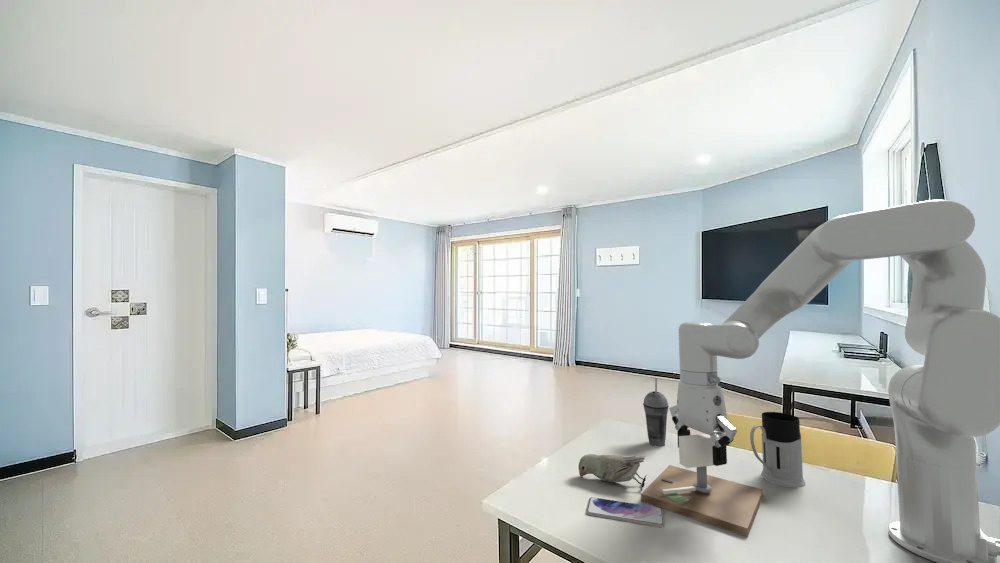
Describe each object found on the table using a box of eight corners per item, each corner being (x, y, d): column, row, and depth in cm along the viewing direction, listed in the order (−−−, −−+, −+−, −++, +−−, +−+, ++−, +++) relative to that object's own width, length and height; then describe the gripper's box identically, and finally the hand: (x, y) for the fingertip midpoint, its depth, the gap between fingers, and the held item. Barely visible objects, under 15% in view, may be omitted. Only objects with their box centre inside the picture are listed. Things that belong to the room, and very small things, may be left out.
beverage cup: (665, 439, 121) (663, 374, 122) (673, 448, 114) (671, 379, 115) (641, 439, 122) (639, 374, 123) (647, 448, 115) (645, 379, 116)
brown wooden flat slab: (763, 496, 87) (762, 488, 87) (747, 536, 72) (747, 527, 72) (669, 470, 100) (669, 464, 100) (641, 500, 86) (640, 492, 86)
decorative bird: (581, 472, 100) (580, 442, 100) (648, 484, 93) (647, 452, 94) (576, 481, 95) (575, 450, 96) (646, 494, 88) (645, 461, 89)
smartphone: (589, 496, 87) (662, 507, 82) (589, 500, 87) (662, 511, 82) (585, 512, 80) (664, 525, 76) (585, 516, 80) (664, 529, 75)
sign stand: (714, 484, 89) (712, 432, 89) (726, 492, 85) (724, 437, 86) (658, 490, 86) (656, 436, 87) (667, 498, 83) (666, 442, 83)
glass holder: (814, 483, 92) (811, 419, 93) (771, 494, 87) (768, 426, 88) (777, 468, 100) (775, 409, 101) (736, 477, 96) (734, 415, 96)
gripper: (746, 384, 80) (750, 469, 79) (682, 369, 97) (684, 440, 96) (718, 387, 78) (721, 475, 77) (657, 372, 94) (659, 444, 93)
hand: (701, 455), depth 86 cm, fingers open, 9 cm apart
